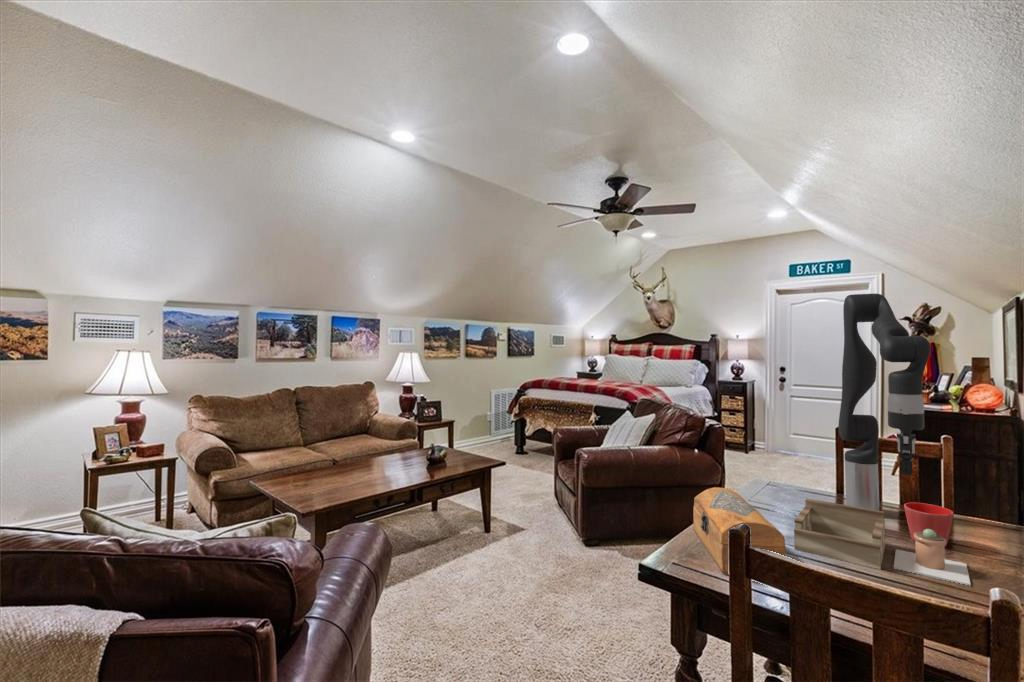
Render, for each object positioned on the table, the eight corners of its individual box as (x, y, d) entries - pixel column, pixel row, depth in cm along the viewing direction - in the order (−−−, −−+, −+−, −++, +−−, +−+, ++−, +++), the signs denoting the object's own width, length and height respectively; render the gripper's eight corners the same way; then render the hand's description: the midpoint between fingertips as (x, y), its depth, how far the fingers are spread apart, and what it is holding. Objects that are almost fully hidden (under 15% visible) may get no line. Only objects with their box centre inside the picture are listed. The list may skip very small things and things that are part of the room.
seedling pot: (914, 557, 125) (913, 522, 125) (946, 564, 121) (945, 528, 121) (913, 565, 120) (913, 529, 120) (946, 572, 116) (946, 535, 116)
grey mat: (896, 550, 130) (895, 549, 130) (966, 565, 121) (966, 563, 121) (893, 568, 119) (893, 566, 119) (970, 586, 110) (970, 584, 110)
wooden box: (689, 530, 147) (689, 485, 147) (746, 533, 144) (745, 487, 144) (716, 575, 117) (715, 519, 117) (787, 580, 114) (786, 522, 115)
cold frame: (806, 529, 146) (805, 498, 146) (885, 545, 134) (884, 511, 134) (793, 549, 132) (793, 514, 132) (881, 569, 119) (880, 531, 119)
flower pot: (965, 550, 130) (963, 515, 130) (919, 548, 132) (918, 513, 132) (938, 536, 140) (937, 503, 140) (896, 533, 142) (895, 501, 142)
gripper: (888, 406, 134) (889, 463, 134) (886, 412, 123) (887, 474, 123) (923, 408, 129) (924, 467, 129) (924, 415, 118) (926, 479, 118)
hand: (906, 470), depth 126 cm, fingers open, 8 cm apart
